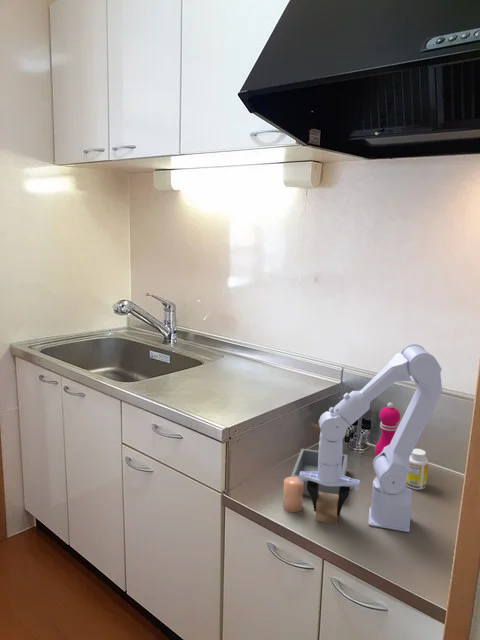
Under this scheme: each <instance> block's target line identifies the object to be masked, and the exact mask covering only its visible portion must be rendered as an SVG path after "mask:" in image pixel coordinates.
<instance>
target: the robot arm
mask: <svg viewBox="0 0 480 640" xmlns="http://www.w3.org/2000/svg"><path fill="white" fill-rule="evenodd" d="M441 372H442V367H441V366H440V363H439V362H438V360H437V359H436V357H435V356H433V354H430V353H429V352H428V351H427V350H426V349H425V348H424V347H423V346H421V345H420V344H417V343H412V344H408V345H406V346H405V347H404V348H403V349H401V352H400V351H399V352H397V353H396V354H395V355H393V357H392V358H391V359H390V360H389V362H388V363H387V364H385V366H384V367H383V368H382V369H380V371H379V372H378V373H377V374H376V375H375V376H374V377H373V378H372V379H370V380H369V382H367V384H366V385H364V387H363V388H361V389H360V390H352V391H351V392H349V393H348V392H346V393H344V394H343V398H342V400H340V401H339V402H338V403H337V404H335V406H333V407H332V406H330V407H329V408H328V411H327V410H326V411H325V412H323V413H322V414H321V415H320V417H319V419H318V420H317V421H318V423H317V424H318V425H319V428H320V433H319V442H318V451H319V454H318V472H304V471H300V474H299V482H304V481H306V482H308V483H307V490H308V492H309V494H310V496H309V497H310V499H311V501H312V505H313V512H315V513H316V503H317V498H318V488H319V484H322V485H325V486H338V487H340V488H339V499H338V510H337V515H338V516H339V517H340V516H341V511H342V508H343V506H344V503H345V502H346V500H347V499H348V497H349V496H350V491H351V489H353V490H354V491H357V492H360V481H361V480H360V479H356V478H352V477H349V476H343V475H341V470H342V454H343V449H344V444H343V439H344V438H345V436H346V434H347V429H348V428H349V427H351V426H352V425H353V424H354V423H355V422H356V421H358V420H359V419H360V418H362V416H363V415H365V414H366V413H367V412H368V411H369V410H370V407H371V406H370V403H371V402H372V401H373V400H374V399H375V398H377V397H378V396H379V395H380V394H382V393H383V392H384V391H386V390H387V389H388V388H389V387H390V386H393V384H395V383H396V382H411V381H412V380H413V382H414V384H415V386H416V390H415V391H414V393H413V396H412V398H411V400H410V402H409V403H408V406H407V408H406V410H405V412H404V414H403V416H402V418H401V419H400V421H399V422H400V423H399V424H398V426H397V427H398V428H397V430H396V432H395V434H394V436H393V439H392V441H391V443H390V444H389V445H388V446H386V447H384V449H383V451H382V452H381V453H380V454H379V455H378V456H376V455H375V457H374V459H373V460H372V469H373V470H374V473H375V474H376V475H375V477H374V479H373V481H372V488H371V489H372V491H371V505H370V506H369V508H368V509H369V510H368V523H367V524H368V525H369V526H370V527H377V528H383V529H388V530H394V531H400V532H406V533H407V532H408V533H409V532H410V530H411V529H410V525H411V520H412V503H413V502H412V501H413V491H412V490H413V489H412V488H411V489H410V488H409V487H408V488H407V485H406V484H407V474H408V472H409V459H410V456H411V453H412V451H413V449H415V448H416V445H417V444H418V441H419V439H420V437H421V435H422V433H423V431H424V429H425V427H426V425H427V423H428V422H429V420H430V417H431V415H432V413H433V411H434V409H435V407H436V406H437V403H438V402H439V399H440V397H441V395H442V392H443V387H442V386H443V385H442V375H441ZM410 376H411V377H410Z"/></svg>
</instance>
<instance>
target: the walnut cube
mask: <svg viewBox="0 0 480 640" xmlns="http://www.w3.org/2000/svg"><path fill="white" fill-rule="evenodd" d="M338 499H339V495H337V494H331V493H325V492H319V494H318V498H317V503H316V512H315V521H316V522H321V523H329V524H334V525H337V523H338V515H337V510H338Z"/></svg>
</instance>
